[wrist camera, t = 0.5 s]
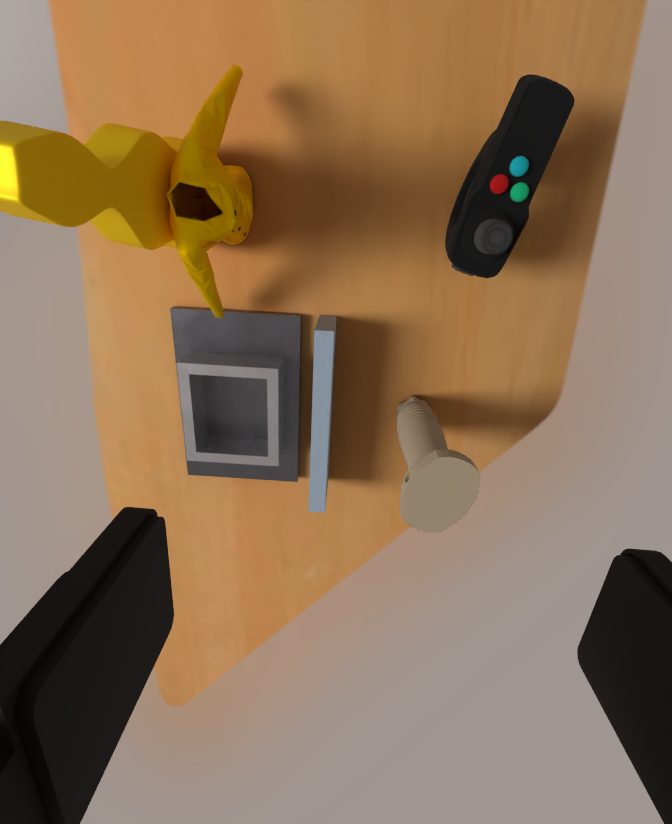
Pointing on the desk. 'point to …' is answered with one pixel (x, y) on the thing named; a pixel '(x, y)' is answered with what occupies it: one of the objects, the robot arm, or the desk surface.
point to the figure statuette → (136, 185)
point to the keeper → (239, 392)
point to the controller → (506, 177)
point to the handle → (432, 471)
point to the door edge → (321, 410)
